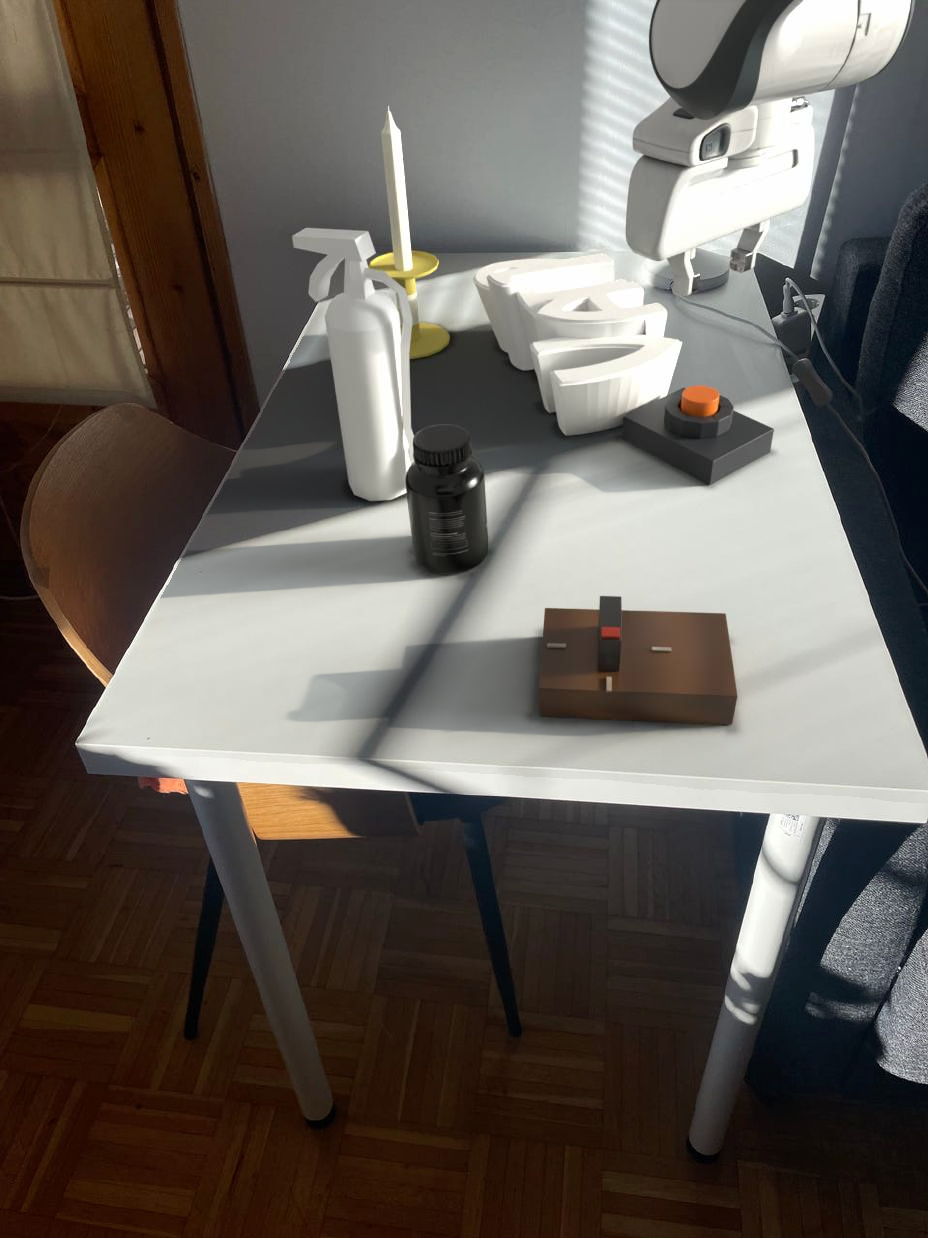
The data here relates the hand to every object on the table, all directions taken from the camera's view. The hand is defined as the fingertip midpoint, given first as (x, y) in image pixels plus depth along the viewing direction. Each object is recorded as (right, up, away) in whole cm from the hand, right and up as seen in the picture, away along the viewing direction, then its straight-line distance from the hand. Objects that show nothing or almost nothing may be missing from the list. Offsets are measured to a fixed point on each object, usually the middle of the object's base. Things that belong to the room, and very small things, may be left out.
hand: (713, 280), depth 87 cm
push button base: (+1, -13, +11) cm, 17 cm away
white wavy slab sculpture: (-10, -3, +24) cm, 26 cm away
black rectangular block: (-12, -33, -15) cm, 38 cm away
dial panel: (-10, -35, -14) cm, 39 cm away
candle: (-30, +4, +34) cm, 45 cm away
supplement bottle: (-24, -25, 0) cm, 35 cm away
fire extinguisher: (-30, -18, +9) cm, 36 cm away
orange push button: (+1, -10, +9) cm, 13 cm away
